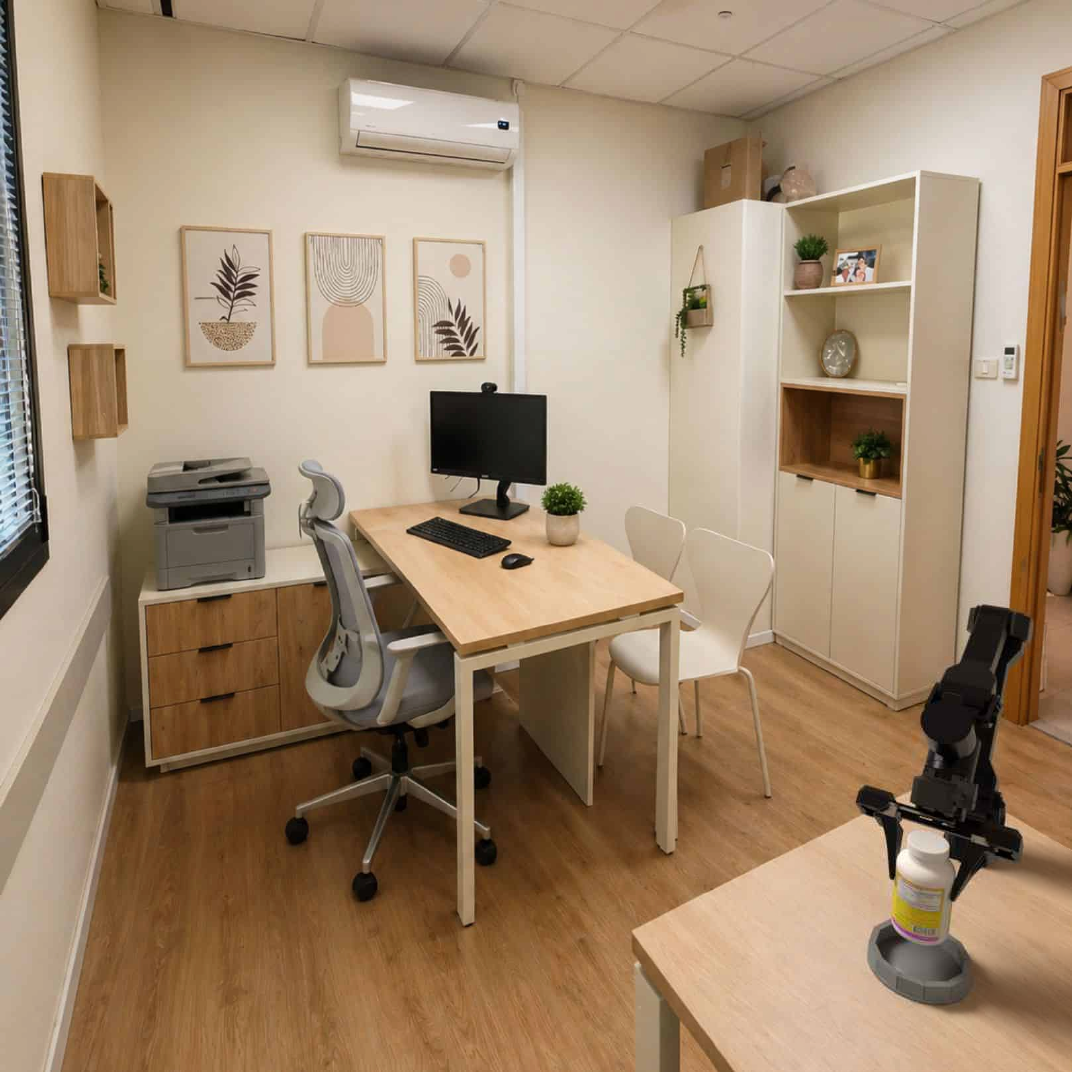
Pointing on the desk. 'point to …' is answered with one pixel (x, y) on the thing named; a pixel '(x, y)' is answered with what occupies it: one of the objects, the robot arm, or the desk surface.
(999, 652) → the robot arm
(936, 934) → the supplement bottle
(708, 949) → the desk surface
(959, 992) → the grey round tray
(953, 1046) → the desk surface
